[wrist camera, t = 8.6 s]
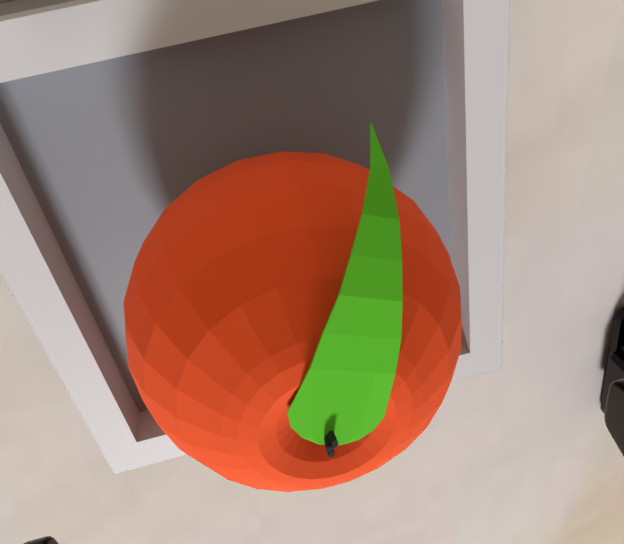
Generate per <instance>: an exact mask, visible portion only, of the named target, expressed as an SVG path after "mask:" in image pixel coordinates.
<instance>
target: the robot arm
mask: <svg viewBox="0 0 624 544" xmlns="http://www.w3.org/2000/svg"><path fill="white" fill-rule="evenodd" d="M601 410H602V411H603V413H604V414H605V423H606V426H607V428H608V430H609V432H610V434H611V436H612V437H613V439H614V441H615V442H616V444H617V446H618V447H619V449H620V451H621V453H622V454H623V456H624V308H622V309H621V310H620V311H619V312H618V313H617V314H616V316H615V319H614V325H613V331H612V337H611V344H610V350H609V356H608V363H607V369H606V375H605V382H604V388H603V394H602V401H601ZM24 544H58V542H57V541H56V540H55V539H54V538H52V537H50V536H47V537H43V538H39V539H35V540H32V541H28V542H26V543H24Z"/></svg>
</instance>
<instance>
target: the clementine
mask: <svg viewBox="0 0 624 544" xmlns="http://www.w3.org/2000/svg"><path fill="white" fill-rule="evenodd" d="M124 319H125V337H126V348H127V357H128V367H129V369H130V372H131V374H132V377H133V379H134V381H135V384H136V386H137V388H138V391H139V393H140V396H141V398H142V400H143V402H144V403H145V405H146V407H147V408H148V410H149V412H150V413H151V415H152V416H153V418H154V420H155V421H156V423H157V424H158V426H159V427H160V428H161V429H162V430H163V431H164V432H165V434H166V435H167V436H168V437H169V438H170V439H171V440H172V442H173V443H174V444H175V445H176V446H177V447H178V448H179V449H180V450H181V451H183V452H184V453H186V454H188V455H189V456H191V457H192V458H194V459H196V460H197V461H199V462H200V463H202V464H204V465H205V466H207V467H208V468H210V469H212V470H213V471H215V472H217V473H218V474H220V475H221V476H223V477H225V478H226V479H228V480H231V481H234V482H237V483H240V484H243V485H246V486H250V487H253V488H256V489H264V490H274V491H285V492H291V491H302V490H313V489H322V488H327V487H330V486H334V485H338V484H341V483H345V482H349V481H351V480H353V479H356V478H358V477H360V476H362V475H364V474H366V473H369V472H371V471H373V470H375V469H377V468H379V467H381V466H382V465H383V464H385V463H386V462H388V461H389V460H391V459H392V458H394V457H395V456H396V455H398V454H399V453H401V452H402V451H404V450H405V449H406V448H407V447H408V446H409V445H410V444H411V443H412V442H413V441H414V440H415V439H416V438H417V437H418V436H419V435H420V434H421V433H422V432H423V431H424V430H425V429H426V428H427V426H428V424H429V423H430V421H431V420H432V418H433V416H434V415H435V413H436V412H437V410H438V408H439V407H440V405H441V403H442V401H443V399H444V397H445V394H446V392H447V390H448V387H449V385H450V383H451V381H452V378H453V374H454V371H455V368H456V365H457V361H458V358H459V355H460V351H461V299H460V286H459V283H458V280H457V277H456V274H455V271H454V268H453V265H452V262H451V259H450V256H449V253H448V251H447V250H446V248H445V246H444V244H443V242H442V240H441V238H440V236H439V234H438V232H437V231H436V229H435V228H434V226H433V225H432V224H431V223H430V221H429V220H428V219H427V217H426V216H425V215H424V213H423V212H422V211H421V209H420V208H419V207H418V206H417V204H416V203H415V202H414V200H412V199H411V198H410V197H408V196H407V195H405V194H404V193H402V192H401V191H399V190H398V189H396V188H395V187H394V186H393V185H392V180H391V175H390V170H389V167H388V164H387V162H386V159H385V156H384V154H383V151H382V149H381V146H380V144H379V141H378V138H377V136H376V133H375V131H374V128H373V126H372V123H370V170H369V169H367V168H366V167H364V166H362V165H359V164H356V163H353V162H350V161H347V160H344V159H341V158H338V157H334V156H331V155H328V154H325V153H307V152H287V151H280V152H276V153H271V154H266V155H261V156H257V157H252V158H247V159H242V160H238V161H235V162H233V163H231V164H229V165H227V166H225V167H223V168H221V169H219V170H217V171H215V172H213V173H211V174H209V175H207V176H205V177H203V178H201V179H199V180H197V181H196V182H195V183H194V184H193V185H191V186H190V187H189V188H188V189H187V190H186V191H185V192H183V193H182V194H181V195H180V196H179V197H178V198H177V199H175V200H174V201H173V202H172V203H171V204H170V205H169V206H167V207H166V208H165V209H164V211H163V212H162V214H161V216H160V217H159V219H158V220H157V222H156V223H155V225H154V226H153V228H152V229H151V231H150V233H149V234H148V236H147V237H146V239H145V240H144V242H143V244H142V246H141V248H140V251H139V253H138V255H137V258H136V260H135V262H134V266H133V269H132V273H131V277H130V280H129V284H128V287H127V291H126V295H125V298H124Z"/></svg>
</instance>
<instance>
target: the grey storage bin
mask: <svg viewBox="0 0 624 544" xmlns="http://www.w3.org/2000/svg"><path fill="white" fill-rule="evenodd" d="M508 33H509V0H13V1H8V2H4V3H0V273H1V274H2V276H3V278H4V280H5V281H6V283H7V285H8V287H9V289H10V290H11V292H12V294H13V296H14V297H15V299H16V301H17V303H18V304H19V306H20V308H21V310H22V312H23V313H24V315H25V317H26V319H27V320H28V322H29V324H30V326H31V327H32V329H33V331H34V333H35V335H36V336H37V338H38V340H39V342H40V343H41V345H42V347H43V349H44V351H45V352H46V354H47V356H48V358H49V359H50V361H51V363H52V365H53V366H54V368H55V370H56V372H57V374H58V375H59V377H60V379H61V381H62V382H63V384H64V386H65V388H66V390H67V391H68V393H69V395H70V397H71V398H72V400H73V402H74V404H75V405H76V407H77V409H78V411H79V413H80V414H81V416H82V418H83V420H84V421H85V423H86V425H87V427H88V429H89V430H90V432H91V434H92V436H93V437H94V439H95V441H96V443H97V444H98V446H99V448H100V450H101V452H102V453H103V455H104V457H105V459H106V460H107V462H108V464H109V466H110V467H111V469H112V471H113V473H114V474H116V473H120V472H124V471H128V470H131V469H135V468H139V467H142V466H146V465H150V464H153V463H157V462H161V461H164V460H168V459H172V458H175V457H179V456H183V455H186V453H184V452H183V451H181V450H180V449H179V448H178V447H177V446H176V445H175V444H174V443H173V442H172V440H171V439H170V438H169V437H168V436H167V435H166V434H165V432H164V431H163V430H162V429H161V428H160V427H159V426H158V424H157V423H156V421H155V420H154V418H153V416H152V415H151V413H150V412H149V410H148V408H147V407H146V405H145V403H144V402H143V400H142V398H141V396H140V393H139V391H138V388H137V386H136V384H135V381H134V379H133V377H132V374H131V372H130V369H129V367H128V357H127V348H126V337H125V319H124V298H125V295H126V291H127V287H128V284H129V280H130V277H131V273H132V269H133V266H134V262H135V260H136V258H137V255H138V253H139V251H140V248H141V246H142V244H143V242H144V240H145V239H146V237H147V236H148V234H149V233H150V231H151V229H152V228H153V226H154V225H155V223H156V222H157V220H158V219H159V217H160V216H161V214H162V212H163V211H164V209H165V208H166V207H167V206H169V205H170V204H171V203H172V202H173V201H174V200H175V199H177V198H178V197H179V196H180V195H181V194H182V193H183V192H185V191H186V190H187V189H188V188H189V187H190V186H191V185H193V184H194V183H195V182H196V181H197V180H199V179H201V178H203V177H205V176H207V175H209V174H211V173H213V172H215V171H217V170H219V169H221V168H223V167H225V166H227V165H229V164H231V163H233V162H235V161H238V160H242V159H247V158H252V157H257V156H261V155H266V154H271V153H276V152H280V151H287V152H307V153H325V154H328V155H331V156H334V157H338V158H341V159H344V160H347V161H350V162H353V163H356V164H359V165H362V166H364V167H366V168H367V169H369V170H370V123H372V126H373V128H374V131H375V133H376V136H377V138H378V141H379V144H380V146H381V149H382V151H383V154H384V156H385V159H386V162H387V164H388V167H389V170H390V175H391V180H392V185H393V186H394V187H395V188H396V189H398V190H399V191H401V192H402V193H404V194H405V195H407V196H408V197H410V198H411V199H412V200H414V202H415V203H416V204H417V206H418V207H419V208H420V209H421V211H422V212H423V213H424V215H425V216H426V217H427V219H428V220H429V221H430V223H431V224H432V225H433V226H434V228H435V229H436V231H437V232H438V234H439V236H440V238H441V240H442V242H443V244H444V246H445V248H446V250H447V251H448V253H449V256H450V259H451V262H452V265H453V268H454V271H455V274H456V277H457V280H458V283H459V286H460V299H461V351H460V355H459V358H458V361H457V365H456V368H455V371H454V374H453V378H452V381H451V382H454V381H458V380H462V379H466V378H469V377H473V376H477V375H480V374H484V373H488V372H491V371H495V370H499V369H501V368H502V320H503V272H504V225H505V177H506V129H507V81H508Z"/></svg>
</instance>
